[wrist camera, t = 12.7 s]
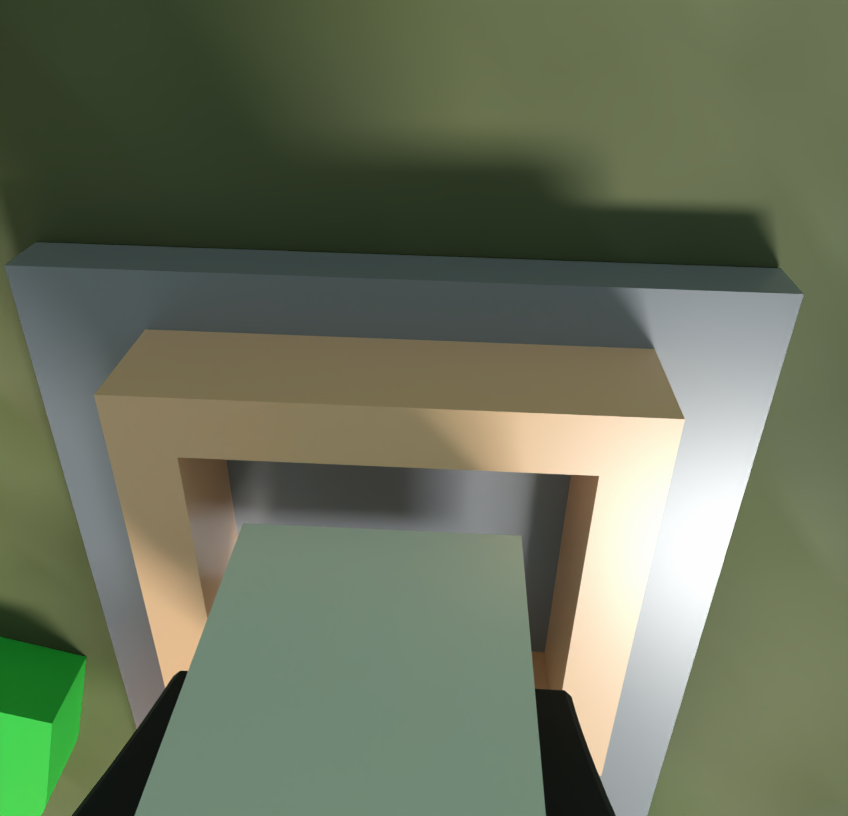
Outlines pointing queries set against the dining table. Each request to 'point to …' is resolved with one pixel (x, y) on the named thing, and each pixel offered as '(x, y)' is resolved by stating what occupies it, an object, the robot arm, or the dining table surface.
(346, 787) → the sage block
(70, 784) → the dining table surface
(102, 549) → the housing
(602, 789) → the robot arm
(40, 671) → the mechanical part
